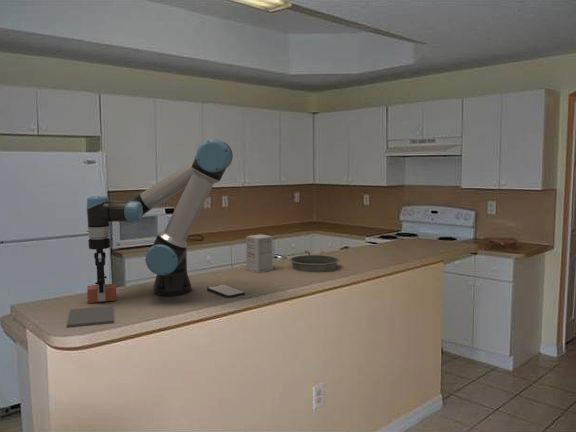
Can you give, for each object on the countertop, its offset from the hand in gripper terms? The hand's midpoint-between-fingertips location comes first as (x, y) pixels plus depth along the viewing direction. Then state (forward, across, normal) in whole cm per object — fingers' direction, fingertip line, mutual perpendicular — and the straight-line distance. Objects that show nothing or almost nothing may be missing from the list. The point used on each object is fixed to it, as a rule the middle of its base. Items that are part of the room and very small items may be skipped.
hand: (101, 298), depth 190 cm
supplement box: (+2, -33, +72) cm, 79 cm away
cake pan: (+2, -31, +100) cm, 104 cm away
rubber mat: (+1, +21, -3) cm, 21 cm away
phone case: (+2, +3, +47) cm, 47 cm away
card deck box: (0, 0, 0) cm, 0 cm away
